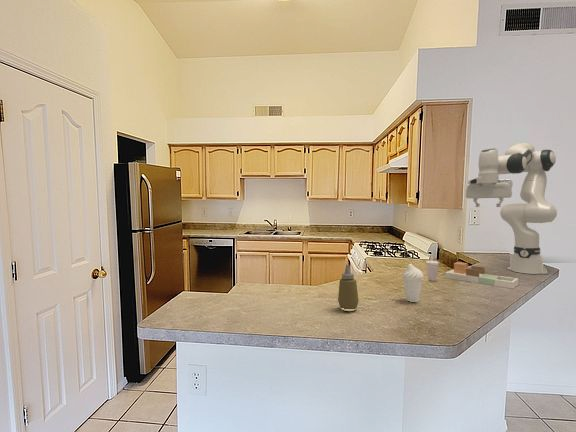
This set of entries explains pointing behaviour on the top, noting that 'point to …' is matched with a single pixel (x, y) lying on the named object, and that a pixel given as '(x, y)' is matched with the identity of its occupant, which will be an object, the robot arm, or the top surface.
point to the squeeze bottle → (348, 290)
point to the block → (460, 267)
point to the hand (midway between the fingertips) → (487, 207)
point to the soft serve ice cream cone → (412, 283)
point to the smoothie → (432, 269)
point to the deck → (483, 277)
